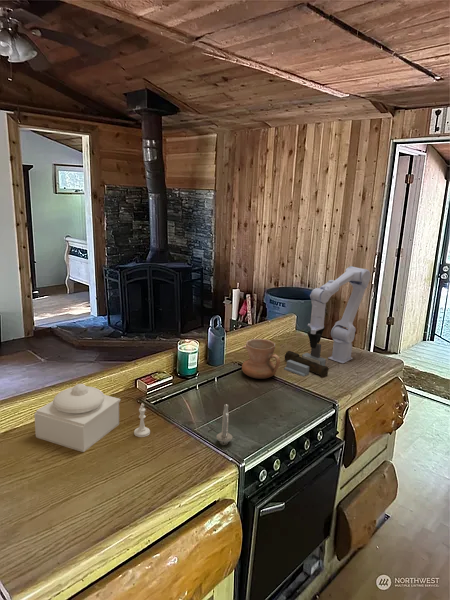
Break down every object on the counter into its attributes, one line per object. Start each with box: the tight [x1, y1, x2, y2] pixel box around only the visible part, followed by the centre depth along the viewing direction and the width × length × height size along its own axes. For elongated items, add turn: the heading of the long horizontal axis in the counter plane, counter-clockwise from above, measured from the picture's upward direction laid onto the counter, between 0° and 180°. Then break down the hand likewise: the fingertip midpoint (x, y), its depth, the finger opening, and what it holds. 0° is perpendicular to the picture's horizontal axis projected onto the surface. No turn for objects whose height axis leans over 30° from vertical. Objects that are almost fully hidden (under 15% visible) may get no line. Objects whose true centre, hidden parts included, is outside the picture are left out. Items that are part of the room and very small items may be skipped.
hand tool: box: [284, 350, 329, 378], centre depth 194 cm, size 23×5×6 cm, turn 39°
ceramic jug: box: [241, 338, 281, 380], centre depth 182 cm, size 18×14×14 cm
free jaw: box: [301, 343, 327, 366], centre depth 198 cm, size 4×10×10 cm, turn 47°
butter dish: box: [34, 383, 121, 453], centre depth 134 cm, size 18×18×16 cm
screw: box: [216, 403, 233, 446], centre depth 132 cm, size 13×5×5 cm
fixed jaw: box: [283, 360, 310, 377], centre depth 189 cm, size 4×10×4 cm, turn 47°
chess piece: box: [133, 403, 151, 438], centre depth 135 cm, size 5×5×10 cm
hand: (314, 345), depth 194 cm, fingers open, 7 cm apart
